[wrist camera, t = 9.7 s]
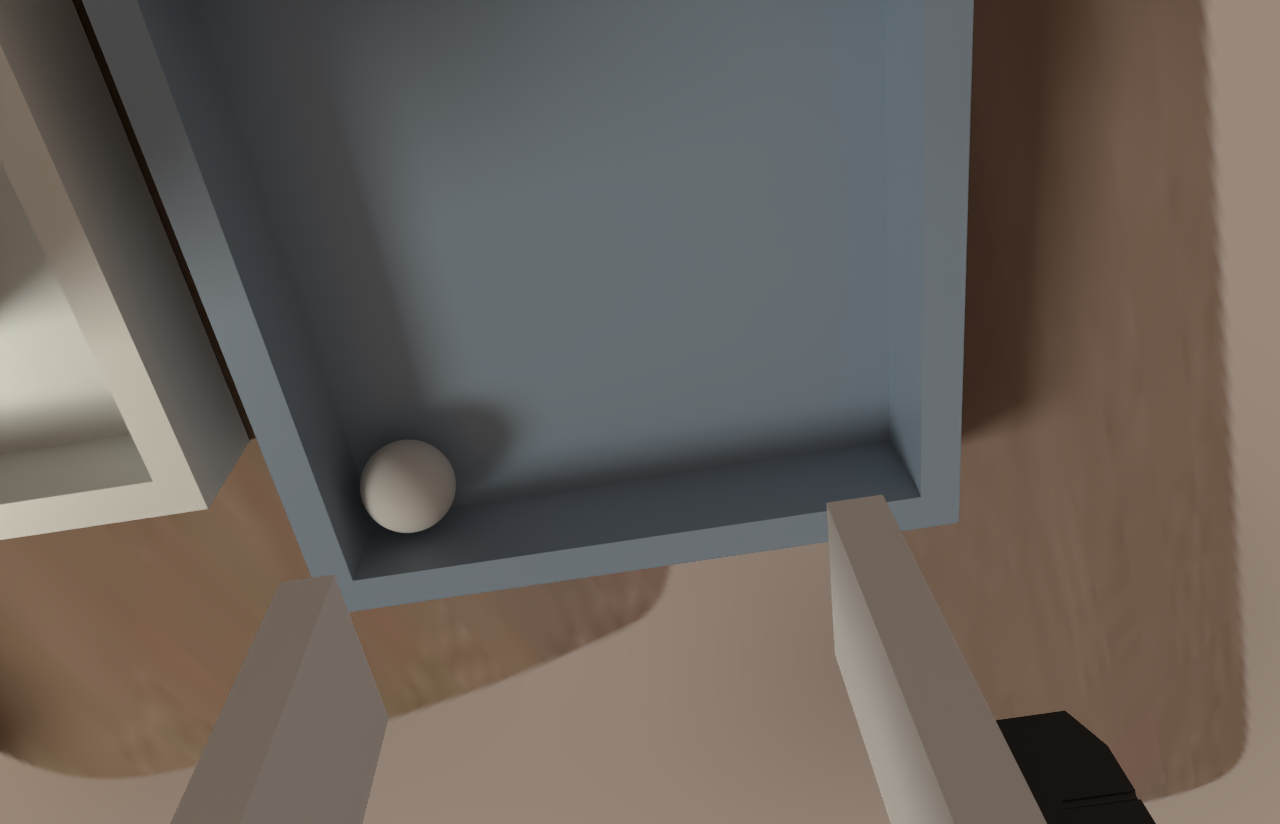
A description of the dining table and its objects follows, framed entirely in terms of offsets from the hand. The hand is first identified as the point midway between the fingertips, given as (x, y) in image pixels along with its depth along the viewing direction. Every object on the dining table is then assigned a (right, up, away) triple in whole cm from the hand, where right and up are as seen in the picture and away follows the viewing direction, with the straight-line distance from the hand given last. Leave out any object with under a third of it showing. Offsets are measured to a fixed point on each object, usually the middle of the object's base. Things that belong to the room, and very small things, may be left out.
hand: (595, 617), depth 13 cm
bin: (-1, +9, +15) cm, 18 cm away
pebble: (-7, +1, +18) cm, 20 cm away
